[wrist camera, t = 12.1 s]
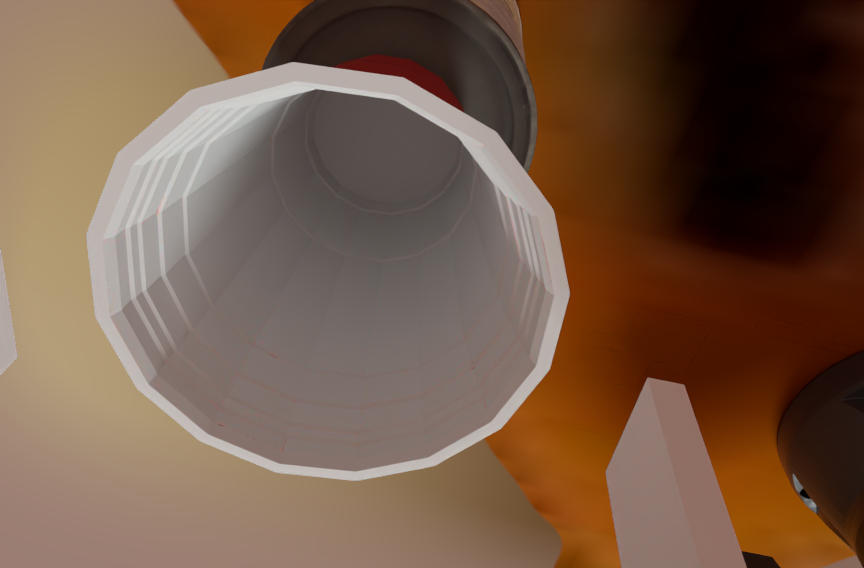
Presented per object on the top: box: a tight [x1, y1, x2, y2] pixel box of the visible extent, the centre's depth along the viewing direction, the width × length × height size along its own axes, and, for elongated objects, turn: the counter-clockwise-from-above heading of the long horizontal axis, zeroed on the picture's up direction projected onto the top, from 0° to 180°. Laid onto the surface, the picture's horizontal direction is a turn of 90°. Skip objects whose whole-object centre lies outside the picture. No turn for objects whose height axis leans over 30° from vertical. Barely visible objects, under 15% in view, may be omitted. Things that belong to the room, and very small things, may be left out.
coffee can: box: [262, 0, 537, 173], centre depth 32 cm, size 10×10×14 cm
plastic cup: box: [86, 54, 570, 481], centre depth 21 cm, size 11×11×12 cm
